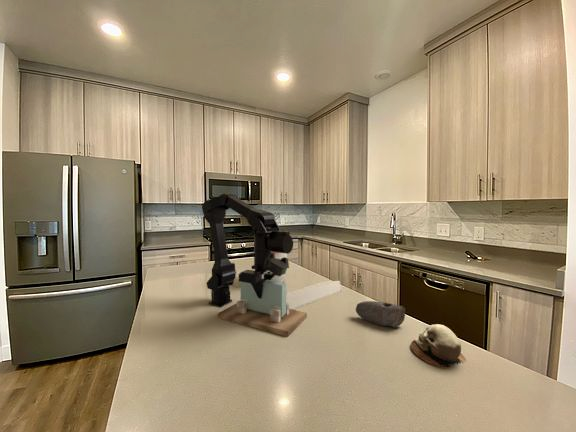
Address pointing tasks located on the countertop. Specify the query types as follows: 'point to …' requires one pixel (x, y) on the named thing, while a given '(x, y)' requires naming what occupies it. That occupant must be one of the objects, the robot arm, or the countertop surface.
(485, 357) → the countertop surface
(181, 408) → the countertop surface
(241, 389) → the countertop surface
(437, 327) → the skull
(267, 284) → the door
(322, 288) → the decorative molding
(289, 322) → the wooden pegged board
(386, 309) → the perforated stone tool
